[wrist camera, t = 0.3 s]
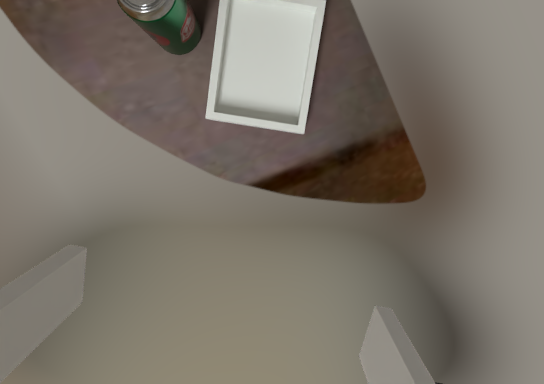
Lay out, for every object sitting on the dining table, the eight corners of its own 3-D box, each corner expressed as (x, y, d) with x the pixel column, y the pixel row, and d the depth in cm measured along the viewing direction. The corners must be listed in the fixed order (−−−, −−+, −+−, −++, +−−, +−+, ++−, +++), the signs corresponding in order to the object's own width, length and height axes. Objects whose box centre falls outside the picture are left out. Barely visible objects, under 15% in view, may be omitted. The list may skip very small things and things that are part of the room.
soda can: (202, 56, 38) (175, 17, 26) (157, 56, 38) (109, 17, 26) (200, 8, 37) (172, -54, 25) (155, 8, 37) (104, -55, 25)
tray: (224, -8, 37) (222, -19, 34) (321, 9, 37) (326, 0, 35) (209, 119, 39) (205, 118, 36) (301, 134, 40) (304, 133, 37)
